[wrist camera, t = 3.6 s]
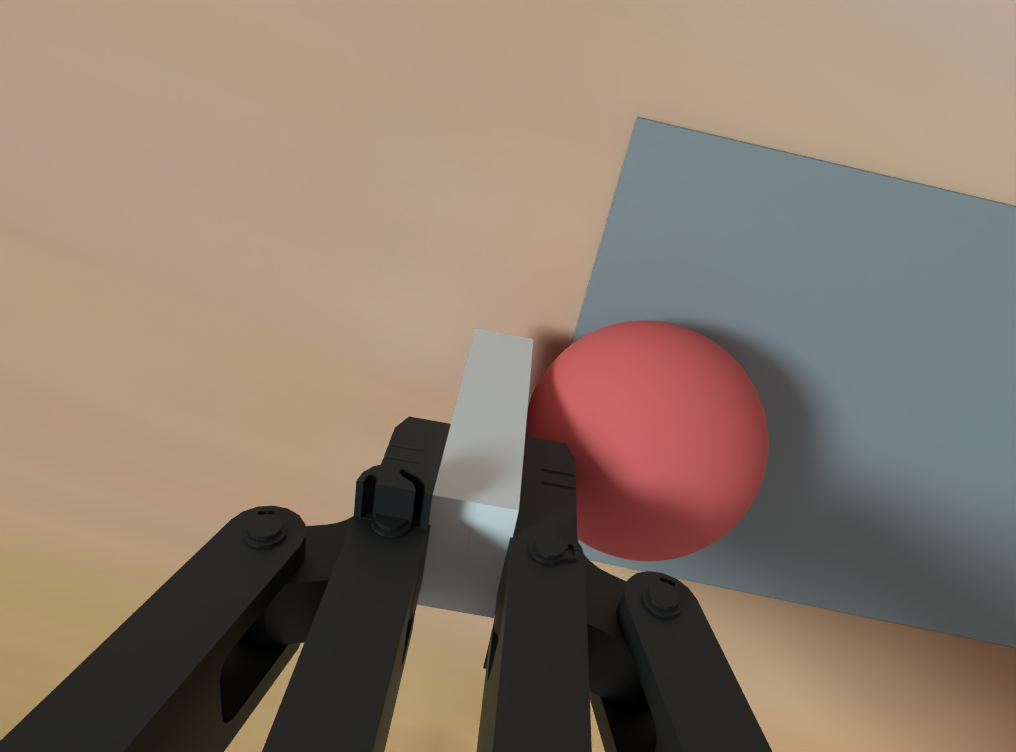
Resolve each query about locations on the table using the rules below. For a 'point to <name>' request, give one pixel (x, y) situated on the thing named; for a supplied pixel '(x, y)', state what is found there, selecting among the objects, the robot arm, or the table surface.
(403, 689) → the table surface
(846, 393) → the plate
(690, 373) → the ball
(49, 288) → the table surface
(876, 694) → the table surface
